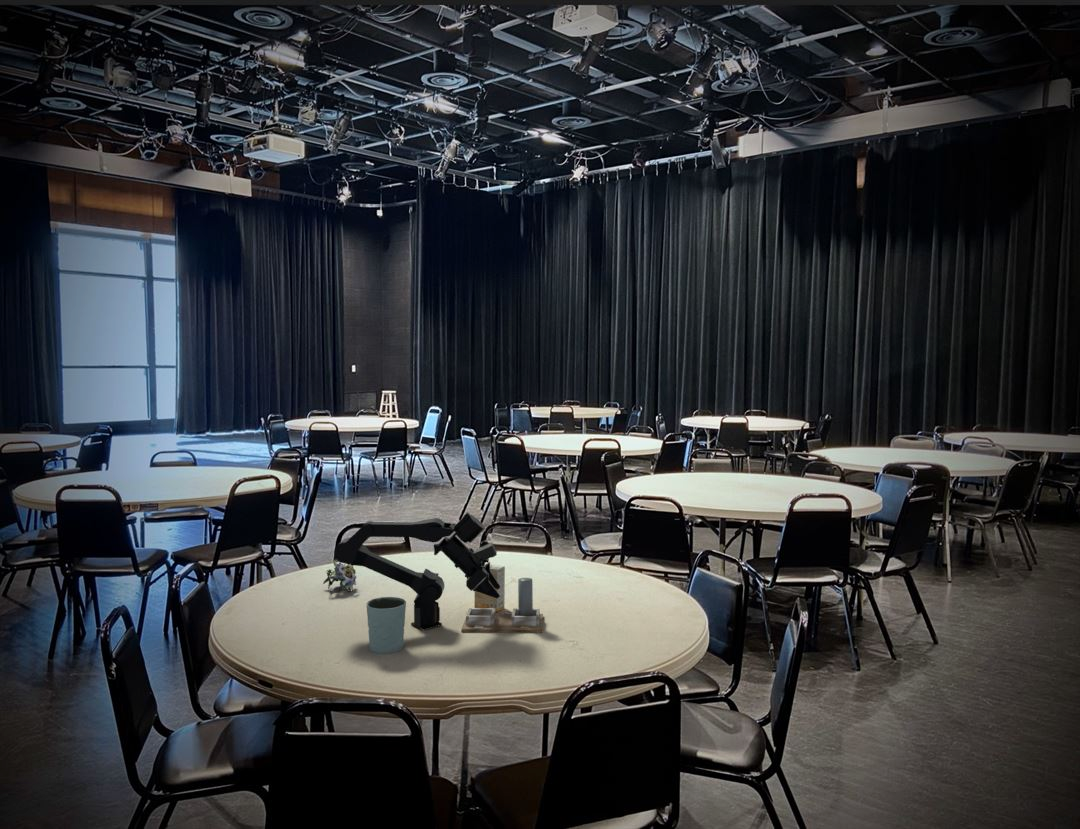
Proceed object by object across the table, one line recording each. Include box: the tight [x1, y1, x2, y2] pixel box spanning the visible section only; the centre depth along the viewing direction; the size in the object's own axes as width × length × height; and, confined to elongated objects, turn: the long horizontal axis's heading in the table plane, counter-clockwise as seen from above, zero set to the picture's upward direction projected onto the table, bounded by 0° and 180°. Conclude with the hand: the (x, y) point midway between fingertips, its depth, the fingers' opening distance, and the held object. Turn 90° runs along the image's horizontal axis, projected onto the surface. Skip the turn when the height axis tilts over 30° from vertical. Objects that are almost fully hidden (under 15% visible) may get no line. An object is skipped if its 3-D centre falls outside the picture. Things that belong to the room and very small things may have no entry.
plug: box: [517, 577, 534, 616], centre depth 222 cm, size 4×4×12 cm
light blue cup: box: [365, 596, 407, 655], centre depth 204 cm, size 10×10×12 cm
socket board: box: [461, 607, 544, 634], centre depth 223 cm, size 22×14×3 cm, turn 88°
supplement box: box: [473, 563, 506, 613], centre depth 237 cm, size 8×5×13 cm, turn 62°
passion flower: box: [323, 560, 358, 592], centre depth 258 cm, size 11×11×12 cm
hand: (498, 592), depth 222 cm, fingers open, 9 cm apart
